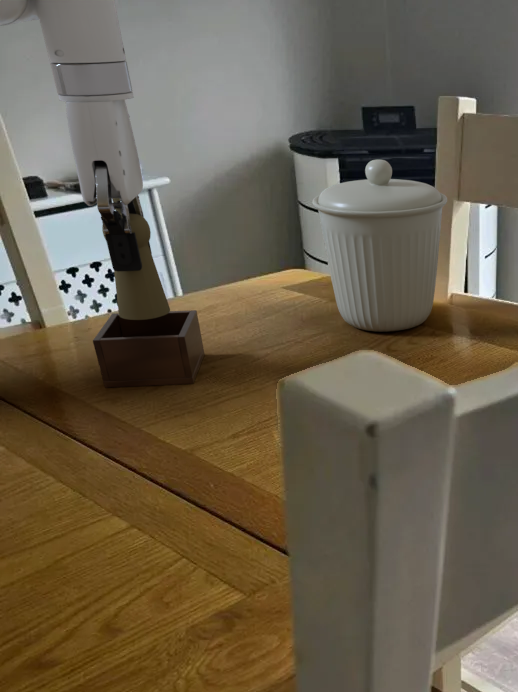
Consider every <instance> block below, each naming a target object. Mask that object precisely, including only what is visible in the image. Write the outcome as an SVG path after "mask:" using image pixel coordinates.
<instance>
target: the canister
mask: <svg viewBox="0 0 518 692" xmlns="http://www.w3.org/2000/svg"><path fill="white" fill-rule="evenodd" d="M364 173H365V177H366V179H358V180H350V181H343V182H340V183H336V184H332V185H330V186H328V187H326V188H324V189H323V190H322V191H321V192H320V194H318V195H316V196H315V197H313V199H312V203H311V204H312V205H313V207H314V208H315V209H316V210H317V211H318V216H319V222H320V227H321V233H322V239H323V242H324V248H325V253H326V258H327V264H328V269H329V274H330V280H331V284H332V289H333V293H334V297H335V298H334V299H335V303H336V306H337V308H338V312H339V314H340V316H341V318H342V319H343V320H344V322H345V323H347V324H348V325H349V326H352V327H353V328H356V329H359V330H363V331H368V332H380V333H381V332H383V333H384V332H385V333H387V332H399V331H404V330H409V329H413V328H415V327H417V326H420V325H421V324H424V322H426V320H427V319H428V317H430V315H431V313H432V309H433V306H434V302H435V301H434V300H435V292H436V283H437V276H438V275H437V273H438V265H439V264H438V263H439V253H440V252H439V251H440V240H441V229H442V219H443V217H442V216H443V208H444V207H445V206H446V205H447V203H448V197H447V195H446V194H444V193H442V192H440V191H439V190H438V189H437V188H436V187H435V186H433V185H430V184H428V183H426V182H421V181H417V180H411V179H397V178H392V175H393V168H392V166H391V164H390V163H389V162H388V161H387V160H385V159H373V160H370V161H369V162H368V163H367V164H366V166H365V169H364Z"/></svg>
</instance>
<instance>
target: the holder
mask: <svg viewBox="0 0 518 692" xmlns="http://www.w3.org/2000/svg"><path fill="white" fill-rule="evenodd" d="M202 338H203V337H202V333H201V328H200V321H199V316H198V310H194V309H193V310H191V309H189V310H170V312H169V313H167V314H166V315H163V316H161V317H157V318H152V319H145V320H129V319H124V318H121V317H120V316H119V312H118V313H117V312H116V313H115V312H114V313H112V314H111V315H110V316H109V317H108V319H107V320H106V321H105V323H104V324H103V326H102V327H101V329H100V330H99V331H98V332H97V334H96V336H95V337H94V338H93V339H92V343H93V348H94V351H95V355H96V359H97V363H98V367H99V370H100V374H101V378H102V381H103V385H104V388H105V389H109V388H128V387H129V388H130V387H149V386H152V387H153V386H168V385H169V386H171V385H173V386H174V385H191V384H192V385H193V384H194V383H195V381H196V377H197V375H198V373H199V370H200V368H201V364H202V362H203V360H204V357H205V349H204V344H203V339H202Z"/></svg>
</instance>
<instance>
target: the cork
mask: <svg viewBox="0 0 518 692" xmlns="http://www.w3.org/2000/svg"><path fill="white" fill-rule="evenodd" d="M129 217H130V224H131V231H132V232H135V235H136V239H137V244H138V248H139V253H140V258H141V262H142V269H141V270H140V271H115V270H114V269H113V274H114V282H115V292H116V303H117V311H118V314H119V316H120V317H121V318H124V319H129V320H145V319H152V318H157V317H161V316H163V315H166V314H167V313H169V312H170V311H171V308H170V304H169V302H168V298H167V296H166V292H165V289H164V287H163V284H162V281H161V278H160V274H159V272H158V270H157V266H156V264H155V261H154V258H153V255H152V254H151V252H152V250H151V251H150V248H149V245H148V242H149V243H150V241H151V235H152V234H151V233H152V232H151V227H150V225H149V222H148V221H147V219H146V218H145V216H144V217H142V216H140V215H138V214H131V213H129ZM121 218H122V214H121ZM101 227H102V235H103V237H104V239H105V241H106V237H105V233H104V229H103V224H102V226H101ZM106 243H107V241H106Z"/></svg>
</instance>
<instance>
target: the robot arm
mask: <svg viewBox="0 0 518 692" xmlns="http://www.w3.org/2000/svg"><path fill="white" fill-rule="evenodd" d="M37 20H39V24H40V27H41V32H42V36H43V40H44V44H45V48H46V53H47V56H48V61H49V64H50V69H51V72H52V77H53V81H54V84H55V90H56V93H57V97H58V100H59V101H60V102H65V111H66V119H67V126H68V133H69V139H70V144H71V149H72V154H73V159H74V163H75V164H74V165H75V168H76V174H77V179H78V184H79V189H80V193H81V197H82V200H83V202H84V204H86V205H87V206H89V207H93V206H94V205H96V207H97V211H98V212H99V214H100V220H101V223H102V225H103V229H104V233H105V237H106V240H105V241H107V242H106V245H107V250H108V253H109V259H110V261H111V267H112V269H113V271H114V270H115V271H140V270H141V269H142V262H141V258H140V253H139V248H138V244H137V239H136V235H135V232H132V231H131V224H130V217H129V213H131V214H138V215H140V216H142V217H144V218H145V215H144V211H143V207H142V204H141V201H140V196H139V194H141V192H142V191H143V189H144V183H143V173H142V168H141V163H140V159H139V154H138V149H137V144H136V140H135V136H134V131H133V127H132V123H131V119H130V117H131V116H130V114H129V111H128V107H127V102H126V100H131V99H133V98H135V97H134V93H133V86H132V83H131V76H130V71H129V67H128V62H127V58H126V52H125V46H124V43H123V37H122V33H121V27H120V26H121V25H120V22H119V17H118V12H117V7H116V2H115V0H0V27H4V26H11V25H15V24H20V23H26V22H32V21H37ZM121 214H122V218H121ZM148 245H149V248H150V251H151V254H152V248H151V243H150V241H149V242H148Z"/></svg>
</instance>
